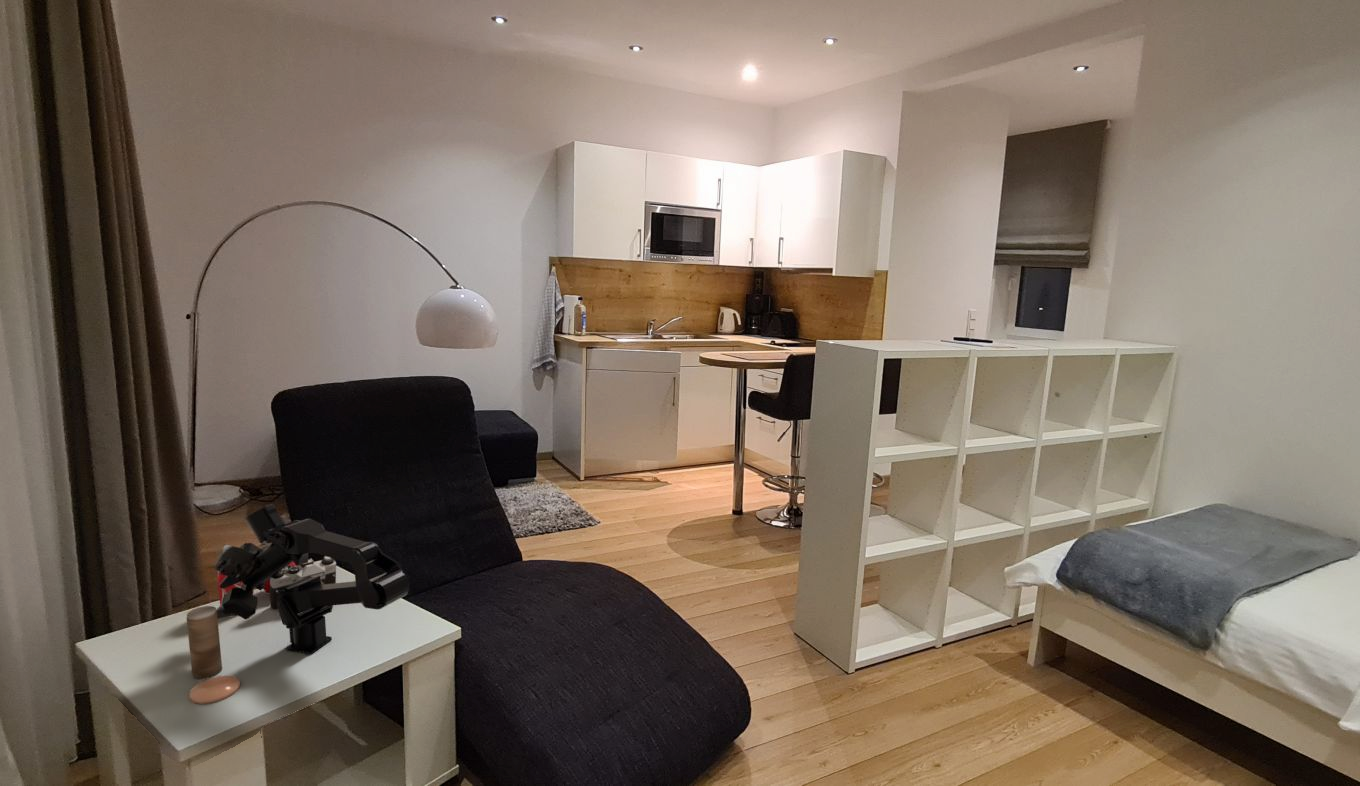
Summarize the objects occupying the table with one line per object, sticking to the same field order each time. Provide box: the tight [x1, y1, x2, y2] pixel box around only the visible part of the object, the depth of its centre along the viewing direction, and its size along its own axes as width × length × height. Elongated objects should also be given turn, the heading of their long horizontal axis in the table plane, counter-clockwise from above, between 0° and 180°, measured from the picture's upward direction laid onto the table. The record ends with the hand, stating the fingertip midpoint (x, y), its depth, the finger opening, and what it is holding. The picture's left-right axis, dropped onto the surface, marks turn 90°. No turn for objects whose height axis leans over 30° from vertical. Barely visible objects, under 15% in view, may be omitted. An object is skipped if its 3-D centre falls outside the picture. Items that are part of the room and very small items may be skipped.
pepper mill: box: [186, 605, 223, 680], centre depth 140 cm, size 5×5×13 cm
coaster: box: [189, 675, 241, 705], centre depth 135 cm, size 8×8×1 cm
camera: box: [269, 556, 337, 612], centre depth 170 cm, size 15×11×10 cm
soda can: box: [216, 570, 255, 606], centre depth 167 cm, size 7×7×12 cm
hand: (216, 602), depth 152 cm, fingers open, 9 cm apart
